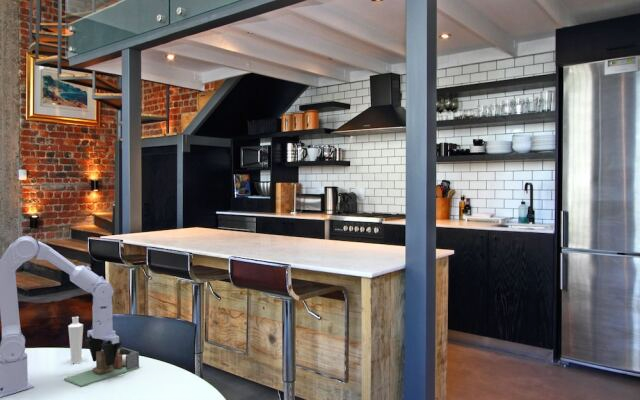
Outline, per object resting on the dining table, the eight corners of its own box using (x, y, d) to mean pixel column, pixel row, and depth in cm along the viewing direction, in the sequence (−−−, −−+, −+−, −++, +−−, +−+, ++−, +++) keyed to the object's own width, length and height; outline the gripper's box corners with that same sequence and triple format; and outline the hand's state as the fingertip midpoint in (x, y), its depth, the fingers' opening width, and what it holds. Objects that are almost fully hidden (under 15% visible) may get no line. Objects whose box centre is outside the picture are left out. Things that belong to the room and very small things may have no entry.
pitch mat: (81, 387, 148) (81, 385, 148) (63, 380, 154) (63, 378, 154) (138, 368, 164) (138, 366, 164) (120, 362, 170) (120, 361, 170)
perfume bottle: (72, 365, 168) (72, 319, 167) (66, 362, 170) (65, 317, 170) (86, 361, 171) (85, 317, 171) (79, 359, 174) (78, 315, 174)
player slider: (100, 374, 156) (99, 354, 156) (92, 371, 159) (92, 352, 159) (123, 367, 163) (122, 347, 163) (116, 364, 165) (115, 345, 165)
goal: (127, 371, 161) (126, 355, 161) (111, 366, 166) (110, 350, 166) (139, 367, 165) (138, 352, 164) (122, 362, 170) (122, 347, 170)
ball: (132, 354, 166) (131, 365, 165) (126, 352, 168) (125, 363, 168) (122, 356, 163) (122, 367, 163) (116, 354, 165) (115, 365, 165)
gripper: (127, 319, 158) (128, 363, 158) (101, 313, 167) (102, 355, 167) (106, 324, 152) (107, 370, 153) (80, 318, 161) (81, 361, 161)
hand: (103, 362), depth 159 cm, fingers open, 7 cm apart
